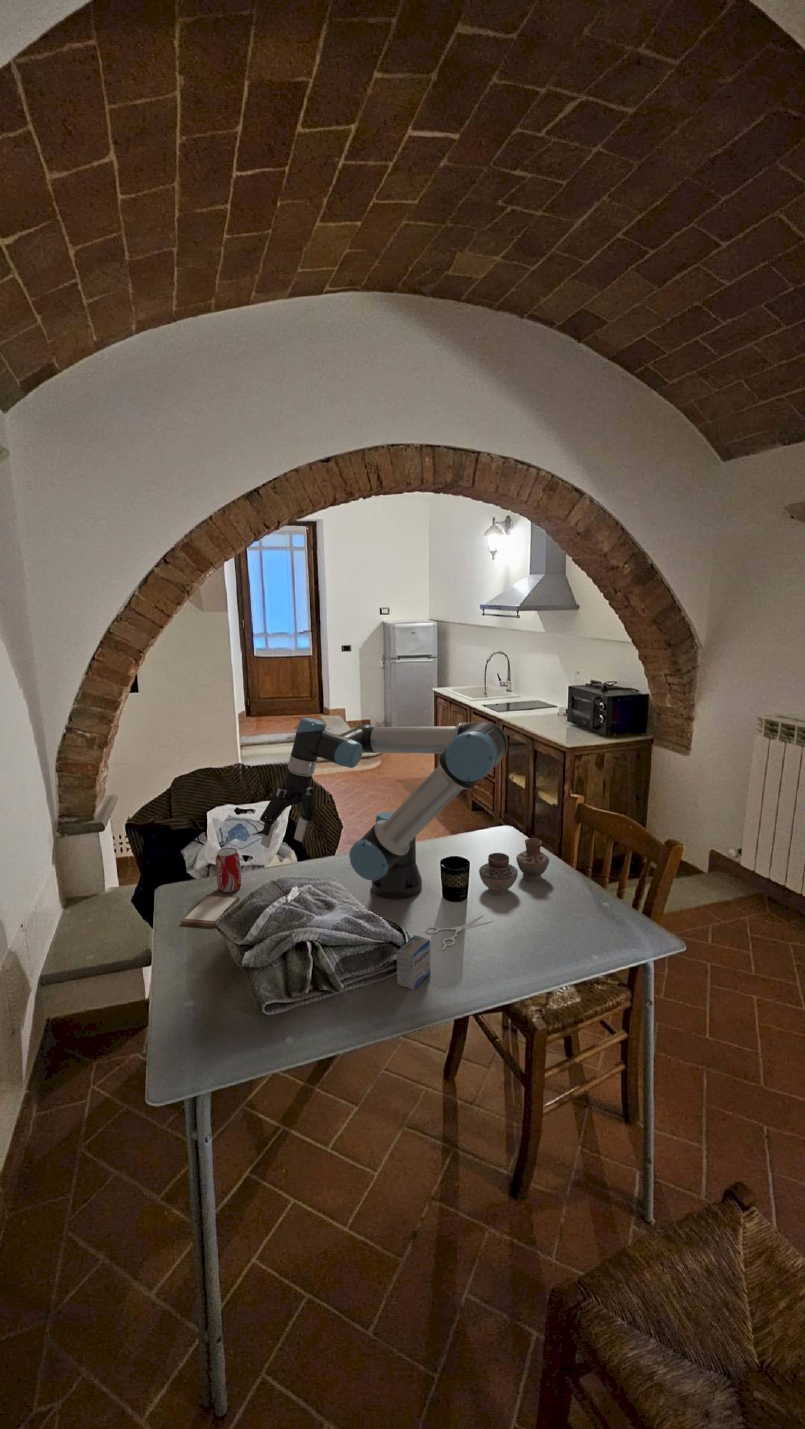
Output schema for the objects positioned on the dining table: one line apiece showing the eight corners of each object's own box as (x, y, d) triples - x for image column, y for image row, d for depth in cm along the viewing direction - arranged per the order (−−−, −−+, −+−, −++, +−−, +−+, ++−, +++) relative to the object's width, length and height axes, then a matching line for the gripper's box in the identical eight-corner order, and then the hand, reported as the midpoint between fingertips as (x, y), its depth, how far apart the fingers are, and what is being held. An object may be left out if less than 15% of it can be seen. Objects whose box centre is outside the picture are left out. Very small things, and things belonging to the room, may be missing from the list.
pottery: (556, 879, 192) (558, 843, 189) (497, 903, 177) (498, 864, 175) (529, 866, 201) (530, 831, 198) (471, 889, 186) (471, 851, 184)
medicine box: (413, 991, 139) (413, 956, 138) (396, 984, 142) (396, 950, 140) (431, 972, 146) (430, 939, 144) (414, 967, 148) (414, 933, 146)
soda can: (238, 894, 185) (235, 856, 183) (214, 894, 186) (211, 856, 183) (244, 883, 192) (242, 846, 190) (221, 883, 192) (219, 846, 190)
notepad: (239, 900, 182) (239, 896, 181) (215, 927, 167) (215, 923, 167) (207, 897, 183) (207, 894, 183) (181, 924, 169) (180, 920, 169)
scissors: (418, 931, 163) (477, 908, 174) (418, 933, 163) (477, 911, 174) (443, 949, 155) (503, 924, 165) (443, 952, 155) (503, 927, 166)
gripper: (318, 767, 188) (301, 833, 191) (258, 768, 167) (240, 843, 170) (337, 775, 184) (319, 842, 187) (278, 778, 163) (259, 853, 166)
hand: (281, 842), depth 178 cm, fingers open, 13 cm apart
